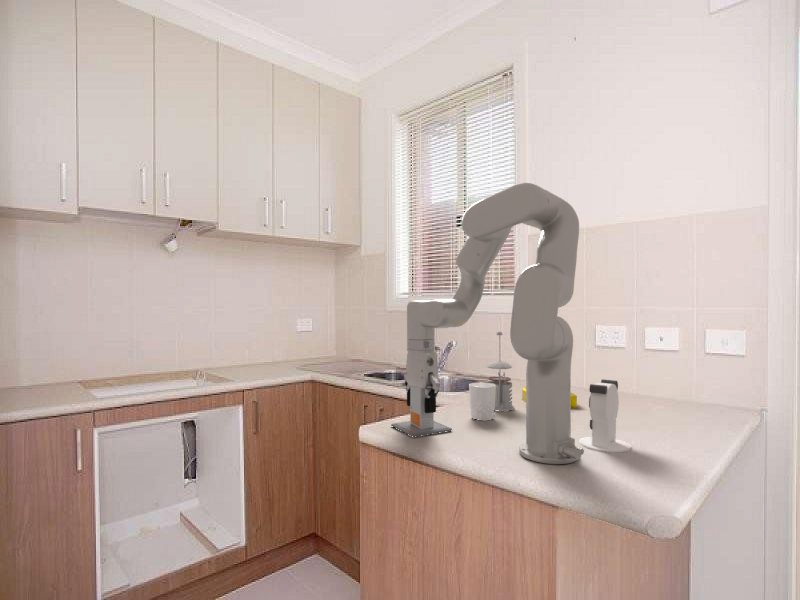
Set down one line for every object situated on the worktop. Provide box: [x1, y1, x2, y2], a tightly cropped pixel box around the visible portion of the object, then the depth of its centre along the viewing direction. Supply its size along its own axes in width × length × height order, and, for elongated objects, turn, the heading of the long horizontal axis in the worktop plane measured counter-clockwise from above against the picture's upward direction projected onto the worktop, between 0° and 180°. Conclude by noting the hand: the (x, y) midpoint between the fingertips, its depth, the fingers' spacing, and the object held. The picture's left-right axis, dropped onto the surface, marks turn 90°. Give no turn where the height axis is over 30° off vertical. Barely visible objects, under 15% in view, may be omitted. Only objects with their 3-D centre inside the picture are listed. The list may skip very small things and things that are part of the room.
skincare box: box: [409, 384, 435, 429], centre depth 122 cm, size 6×4×12 cm
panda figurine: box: [578, 378, 632, 454], centre depth 109 cm, size 12×11×15 cm
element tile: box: [521, 387, 578, 409], centre depth 155 cm, size 15×15×5 cm
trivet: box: [390, 420, 453, 437], centre depth 123 cm, size 12×12×1 cm
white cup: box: [468, 382, 496, 421], centre depth 134 cm, size 8×8×10 cm
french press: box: [486, 331, 516, 412], centre depth 146 cm, size 10×12×25 cm
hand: (420, 408), depth 123 cm, fingers open, 9 cm apart
